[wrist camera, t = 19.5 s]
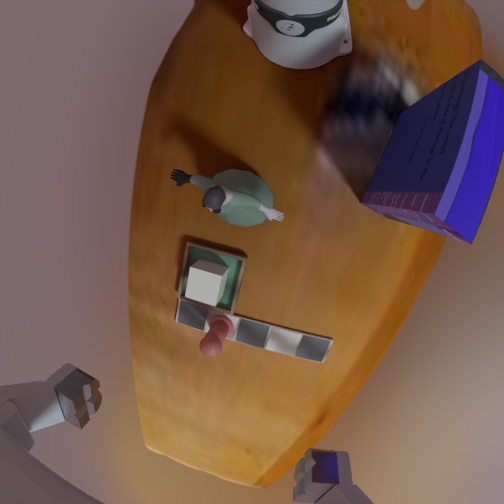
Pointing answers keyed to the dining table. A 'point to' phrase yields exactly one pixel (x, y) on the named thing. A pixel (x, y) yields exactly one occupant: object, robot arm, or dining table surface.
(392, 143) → the cereal box
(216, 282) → the die
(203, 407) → the dining table surface
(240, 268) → the dice tray
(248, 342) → the track board
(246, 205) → the character figurine
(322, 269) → the dining table surface
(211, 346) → the pawn
